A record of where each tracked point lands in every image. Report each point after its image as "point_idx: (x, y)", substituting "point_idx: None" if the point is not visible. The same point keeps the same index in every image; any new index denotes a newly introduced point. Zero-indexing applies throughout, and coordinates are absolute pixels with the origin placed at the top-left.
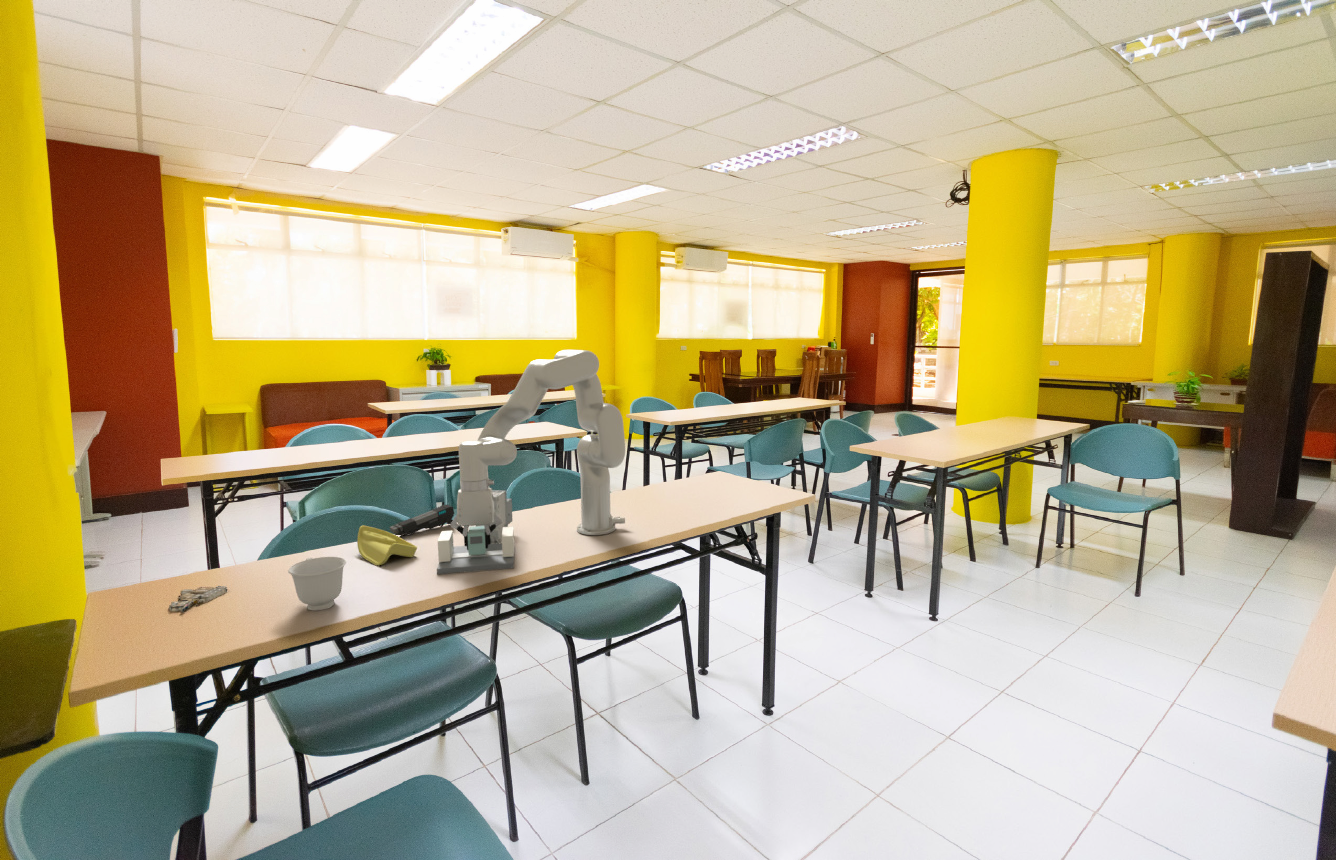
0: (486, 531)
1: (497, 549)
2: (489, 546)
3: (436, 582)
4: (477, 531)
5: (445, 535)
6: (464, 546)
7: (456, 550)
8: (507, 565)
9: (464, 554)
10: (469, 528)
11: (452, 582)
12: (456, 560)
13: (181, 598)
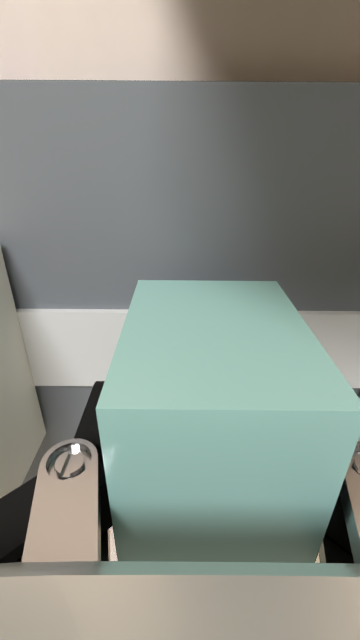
0: (326, 553)
1: (348, 267)
2: (296, 169)
3: None
4: None
5: None
6: (60, 102)
7: (17, 214)
8: None
9: (108, 346)
10: (110, 475)
11: (111, 535)
12: (77, 410)
13: None
